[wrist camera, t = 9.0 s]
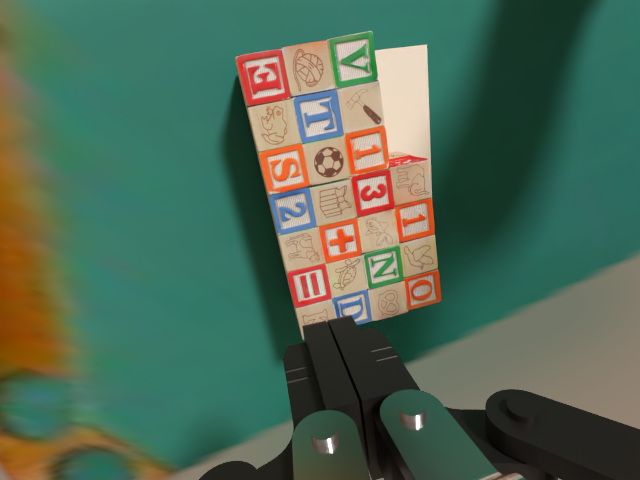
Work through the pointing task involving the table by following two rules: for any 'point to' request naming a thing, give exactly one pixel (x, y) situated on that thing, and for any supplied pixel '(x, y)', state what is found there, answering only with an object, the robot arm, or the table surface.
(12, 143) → the table surface
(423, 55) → the mat
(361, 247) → the stack of blocks
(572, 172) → the table surface
